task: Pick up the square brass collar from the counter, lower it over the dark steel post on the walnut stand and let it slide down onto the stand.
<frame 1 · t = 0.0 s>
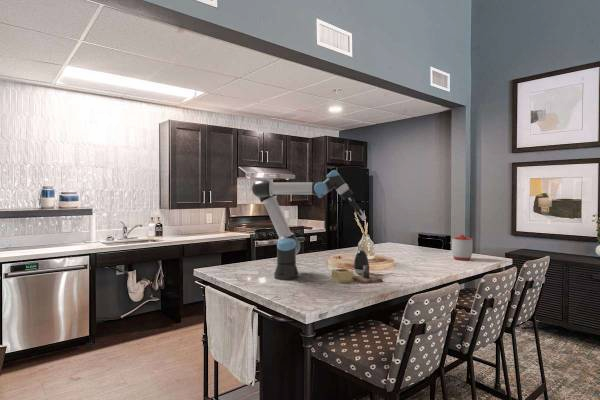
hand: (364, 218, 231), 36 cm above the kitchen island, tool tilted 35°, fingers open, 13 cm apart
brass collar: (342, 280, 218), on the kitchen island
black tall oval piece: (361, 273, 237), on the kitchen island
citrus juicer: (460, 259, 290), on the kitchen island
post stand: (366, 280, 219), on the kitchen island
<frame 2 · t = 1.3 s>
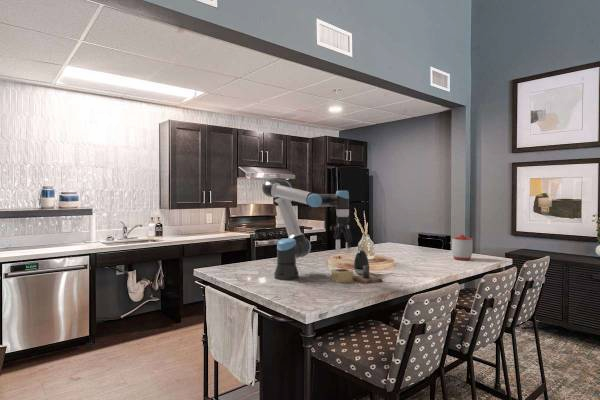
hand: (343, 251, 218), 17 cm above the kitchen island, tool pointing down, fingers open, 13 cm apart
nothing on the kitchen island moved.
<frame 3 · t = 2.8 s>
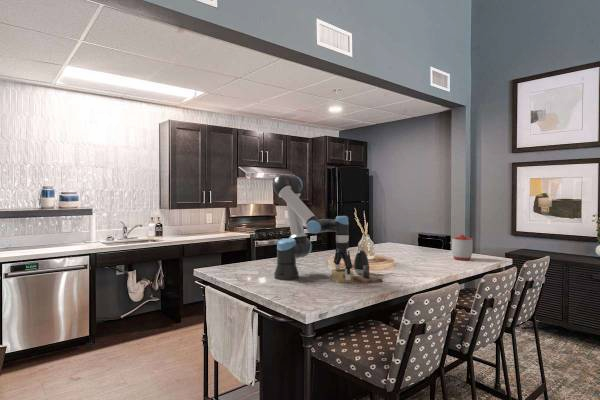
hand: (342, 277, 218), 2 cm above the kitchen island, tool pointing down, fingers open, 13 cm apart
nothing on the kitchen island moved.
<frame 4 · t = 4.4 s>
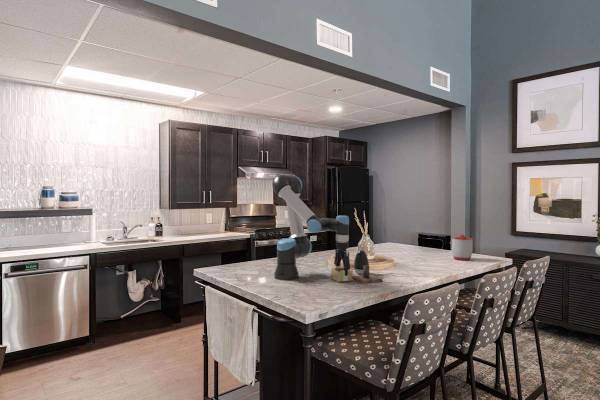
hand: (341, 278, 218), 1 cm above the kitchen island, tool pointing down, fingers closed on brass collar, 9 cm apart
brass collar: (341, 279, 218), point 1 cm above the kitchen island, touching gripper
everything else where it was.
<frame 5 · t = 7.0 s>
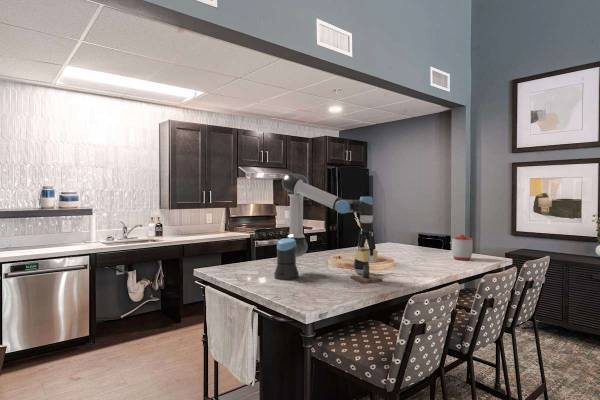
hand: (366, 259, 219), 12 cm above the kitchen island, tool pointing down, fingers closed on brass collar, 9 cm apart
brass collar: (366, 259, 219), point 12 cm above the kitchen island, touching gripper
everything else where it was.
when the fingers open (6 cm above the kitchen island, at t = 9.6 s): brass collar drops 4 cm, resting on post stand.
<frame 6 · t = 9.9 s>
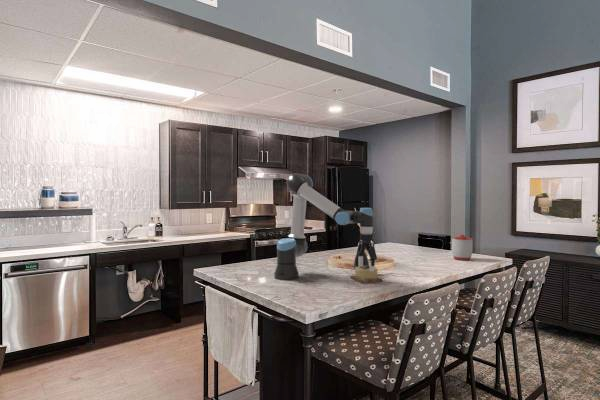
hand: (366, 269, 219), 7 cm above the kitchen island, tool pointing down, fingers open, 13 cm apart
brass collar: (366, 277, 219), point 1 cm above the kitchen island, touching post stand
everything else where it was.
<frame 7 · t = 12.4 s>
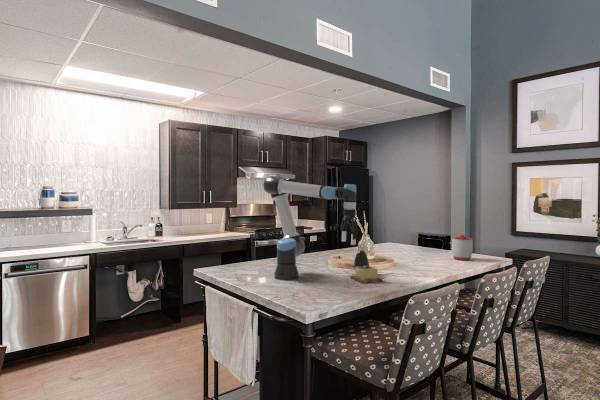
hand: (348, 243, 227), 21 cm above the kitchen island, tool pointing down, fingers open, 13 cm apart
nothing on the kitchen island moved.
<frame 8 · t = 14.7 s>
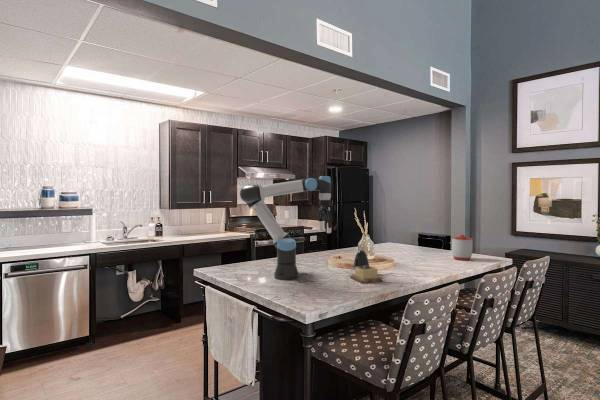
hand: (324, 232, 240), 27 cm above the kitchen island, tool pointing down, fingers open, 13 cm apart
nothing on the kitchen island moved.
at the end: brass collar 0.1 cm off-centre on the post stand, point 1.5 cm above the post stand's base; brass collar tilted 0°; the gripper is holding nothing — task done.
